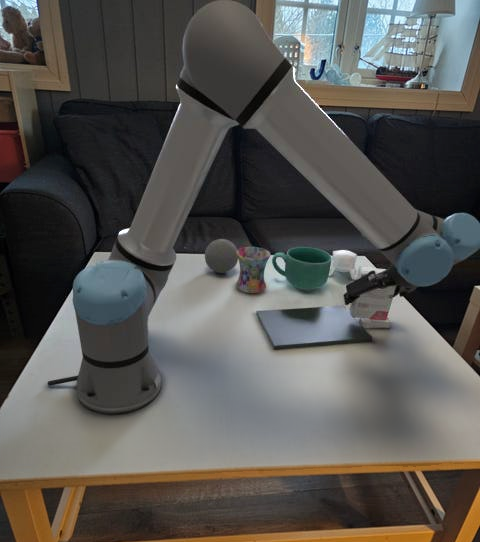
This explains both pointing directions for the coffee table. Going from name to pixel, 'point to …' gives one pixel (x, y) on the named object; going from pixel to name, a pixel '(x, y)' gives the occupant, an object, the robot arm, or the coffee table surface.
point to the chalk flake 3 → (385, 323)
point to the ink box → (372, 300)
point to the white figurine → (343, 262)
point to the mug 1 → (252, 269)
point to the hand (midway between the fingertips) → (363, 298)
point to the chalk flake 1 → (365, 323)
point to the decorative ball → (221, 256)
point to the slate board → (311, 327)
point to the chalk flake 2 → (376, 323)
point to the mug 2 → (305, 267)
